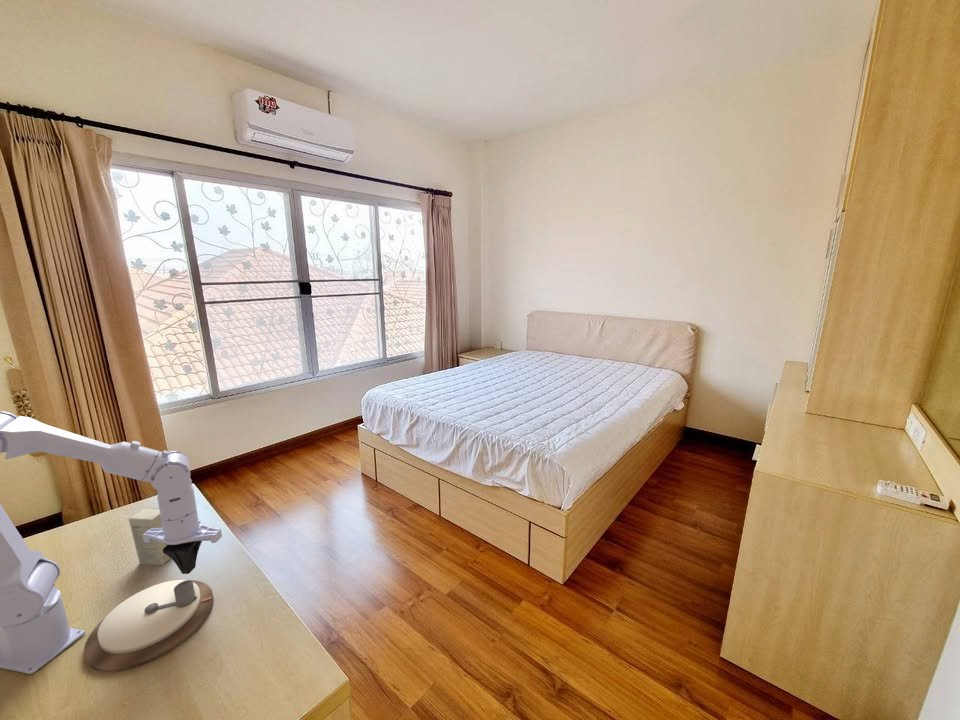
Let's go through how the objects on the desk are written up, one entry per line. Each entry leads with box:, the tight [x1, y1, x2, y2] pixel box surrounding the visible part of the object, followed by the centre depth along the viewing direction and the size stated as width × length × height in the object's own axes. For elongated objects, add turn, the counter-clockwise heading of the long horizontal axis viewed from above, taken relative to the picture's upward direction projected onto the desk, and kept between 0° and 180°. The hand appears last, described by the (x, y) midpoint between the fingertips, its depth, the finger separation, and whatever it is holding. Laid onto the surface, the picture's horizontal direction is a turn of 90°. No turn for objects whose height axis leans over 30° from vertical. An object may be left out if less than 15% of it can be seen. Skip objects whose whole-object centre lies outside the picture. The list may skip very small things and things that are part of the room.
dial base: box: [83, 579, 215, 673], centre depth 74 cm, size 19×19×1 cm
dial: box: [98, 579, 201, 654], centre depth 73 cm, size 15×15×5 cm
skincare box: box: [128, 507, 172, 566], centre depth 90 cm, size 6×4×12 cm
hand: (188, 570), depth 80 cm, fingers closed
